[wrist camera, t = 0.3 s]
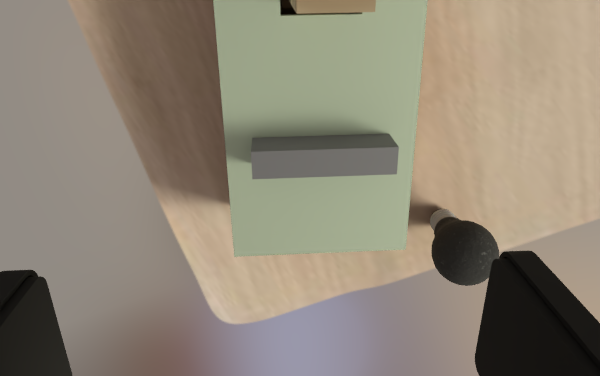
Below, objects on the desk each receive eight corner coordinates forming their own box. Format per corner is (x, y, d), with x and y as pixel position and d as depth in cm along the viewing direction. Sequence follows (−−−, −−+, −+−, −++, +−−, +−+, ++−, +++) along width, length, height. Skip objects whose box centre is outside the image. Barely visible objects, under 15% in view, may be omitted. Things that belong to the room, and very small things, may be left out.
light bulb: (421, 186, 48) (457, 237, 38) (474, 196, 48) (521, 248, 39) (404, 235, 50) (434, 294, 41) (455, 243, 51) (495, 303, 41)
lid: (205, -119, 29) (195, -132, 25) (433, -121, 30) (455, -134, 26) (235, 250, 40) (231, 278, 36) (402, 243, 40) (415, 270, 37)
